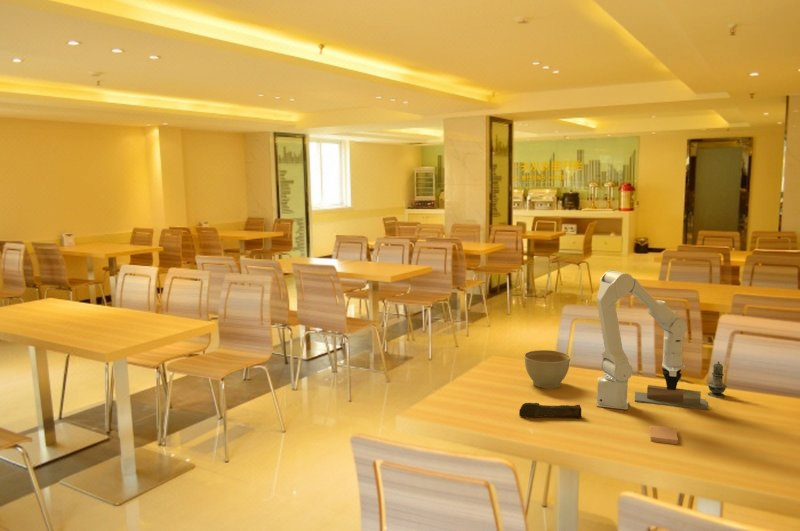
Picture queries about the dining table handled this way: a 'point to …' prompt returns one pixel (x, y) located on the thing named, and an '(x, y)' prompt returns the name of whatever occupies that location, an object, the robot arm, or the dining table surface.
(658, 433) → the tile
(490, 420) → the dining table surface
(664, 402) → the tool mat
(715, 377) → the salt shaker
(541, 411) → the hand tool
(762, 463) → the dining table surface
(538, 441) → the dining table surface
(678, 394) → the two-tone flat stick
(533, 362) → the planter bowl
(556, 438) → the dining table surface
